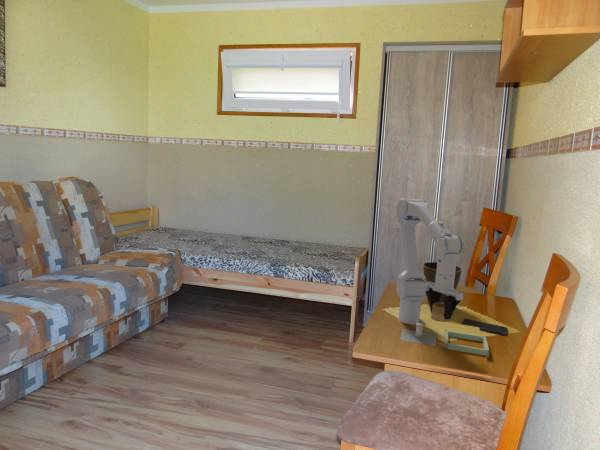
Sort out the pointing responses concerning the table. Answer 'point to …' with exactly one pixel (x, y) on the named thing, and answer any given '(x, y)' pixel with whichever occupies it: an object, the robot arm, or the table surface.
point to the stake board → (416, 340)
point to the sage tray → (466, 348)
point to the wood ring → (438, 312)
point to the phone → (486, 327)
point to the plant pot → (431, 275)
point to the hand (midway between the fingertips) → (440, 315)
